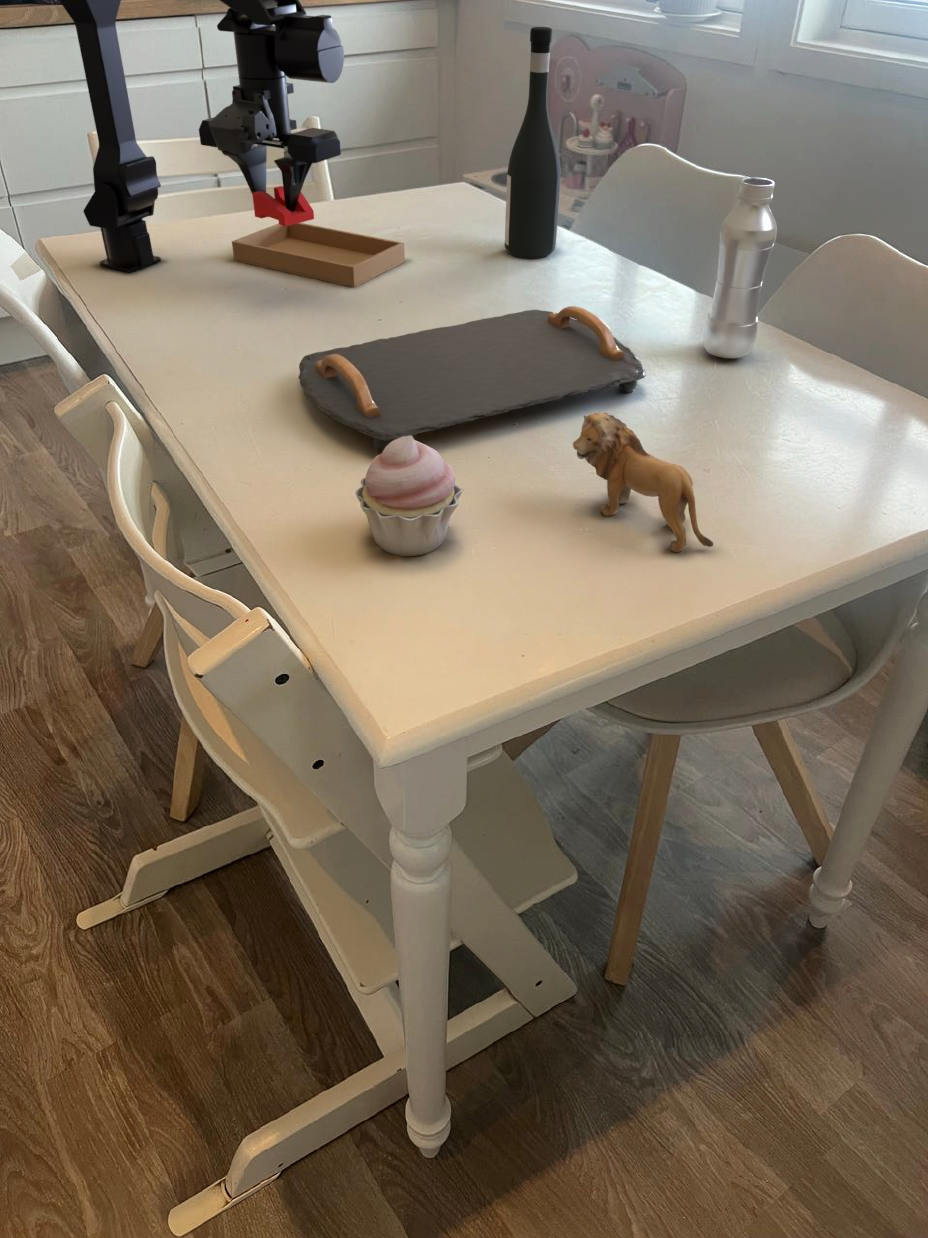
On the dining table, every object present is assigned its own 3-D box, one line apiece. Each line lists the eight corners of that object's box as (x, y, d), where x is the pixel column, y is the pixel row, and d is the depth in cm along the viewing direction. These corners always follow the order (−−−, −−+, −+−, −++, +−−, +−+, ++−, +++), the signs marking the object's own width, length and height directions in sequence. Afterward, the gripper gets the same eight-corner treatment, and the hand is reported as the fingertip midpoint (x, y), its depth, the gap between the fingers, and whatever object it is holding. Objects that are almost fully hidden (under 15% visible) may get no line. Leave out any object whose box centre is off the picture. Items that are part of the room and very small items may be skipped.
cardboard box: (234, 260, 145) (231, 241, 143) (288, 237, 154) (287, 219, 152) (354, 287, 136) (353, 267, 134) (404, 261, 145) (404, 242, 143)
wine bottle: (494, 253, 149) (501, 27, 130) (521, 240, 154) (531, 22, 135) (538, 263, 145) (552, 33, 126) (564, 250, 150) (581, 26, 132)
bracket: (255, 216, 127) (252, 192, 126) (283, 209, 130) (281, 185, 128) (285, 226, 124) (282, 201, 122) (314, 218, 127) (312, 194, 125)
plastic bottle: (757, 348, 120) (793, 178, 107) (746, 368, 115) (782, 192, 103) (706, 340, 122) (735, 171, 110) (693, 359, 117) (722, 185, 105)
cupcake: (467, 565, 82) (469, 462, 76) (357, 569, 81) (350, 465, 75) (459, 508, 89) (460, 409, 83) (358, 511, 88) (351, 412, 82)
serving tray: (359, 471, 94) (355, 413, 91) (276, 383, 110) (269, 330, 106) (667, 391, 110) (675, 339, 106) (555, 324, 125) (559, 277, 122)
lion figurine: (558, 505, 90) (566, 417, 84) (590, 483, 93) (599, 397, 87) (697, 563, 82) (715, 471, 77) (726, 538, 86) (746, 448, 80)
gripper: (158, 77, 115) (180, 212, 125) (281, 93, 108) (294, 236, 118) (220, 64, 123) (236, 193, 133) (339, 79, 116) (346, 214, 125)
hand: (275, 209), depth 127 cm, fingers closed on bracket, 4 cm apart
